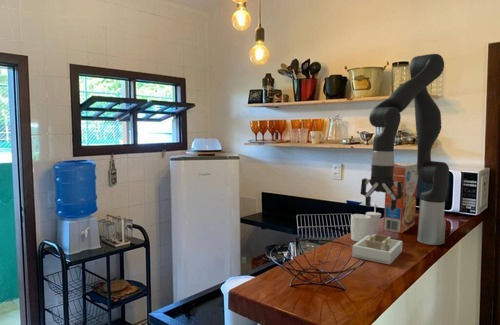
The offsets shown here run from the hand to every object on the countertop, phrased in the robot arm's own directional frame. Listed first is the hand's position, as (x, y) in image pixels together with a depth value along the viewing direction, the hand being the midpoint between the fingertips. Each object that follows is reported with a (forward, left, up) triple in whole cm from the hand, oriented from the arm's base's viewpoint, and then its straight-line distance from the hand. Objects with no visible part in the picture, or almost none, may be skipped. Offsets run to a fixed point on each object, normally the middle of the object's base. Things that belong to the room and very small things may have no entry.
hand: (380, 208), depth 141 cm
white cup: (-2, -18, -17) cm, 25 cm away
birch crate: (0, 0, -16) cm, 16 cm away
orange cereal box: (-32, -37, -17) cm, 52 cm away
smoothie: (-11, -24, -17) cm, 32 cm away
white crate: (0, 0, -17) cm, 17 cm away
